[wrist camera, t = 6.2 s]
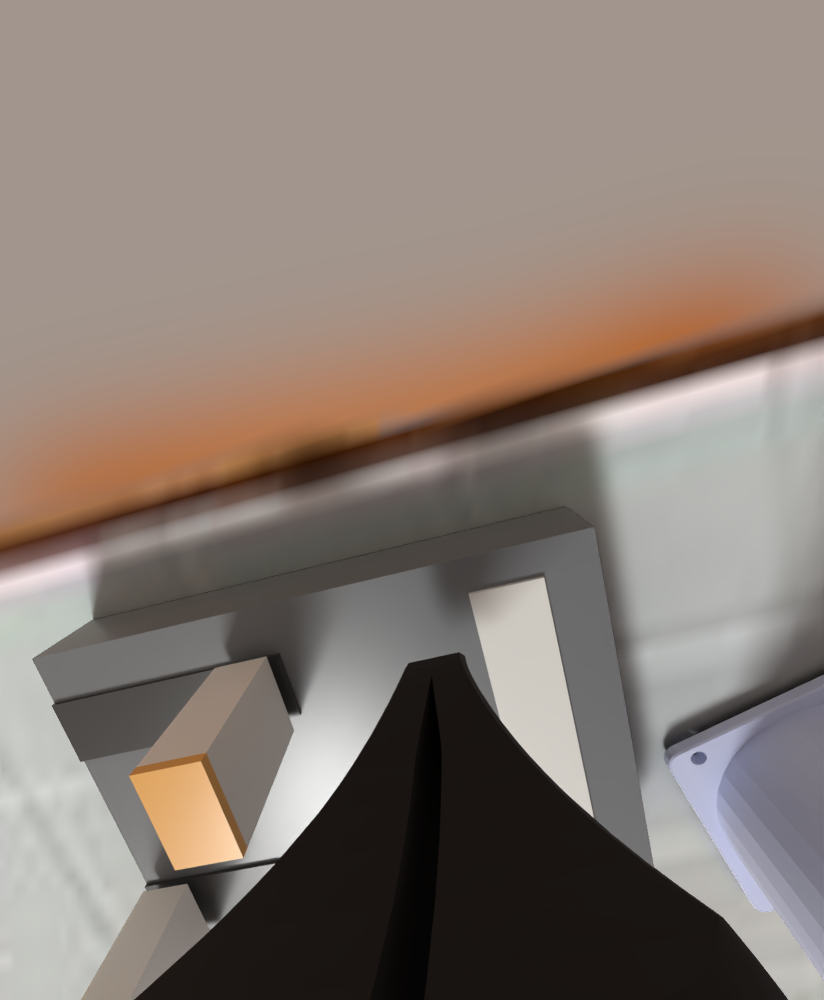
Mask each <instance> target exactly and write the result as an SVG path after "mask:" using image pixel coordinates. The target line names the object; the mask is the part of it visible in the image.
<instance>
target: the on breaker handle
mask: <svg viewBox="0 0 824 1000" xmlns="http://www.w3.org/2000/svg"><path fill="white" fill-rule="evenodd" d="M209 931H210V930H209V928H208V926H207V924H206V922H205V920H204V917H203V915H202V913H201V911H200V909H199V907H198V905H197V903H196V901H195V899H194V897H193V895H192V893H191V891H190V889H189V886H188V884H183V885H177V886H172V887H166V888H161V889H155V890H149V891H144V892H143V893H142V895H141V897H140V899H139V900H138V902H137V904H136V906H135V907H134V909H133V911H132V912H131V914H130V916H129V918H128V919H127V921H126V923H125V925H124V926H123V928H122V930H121V932H120V933H119V935H118V937H117V939H116V940H115V942H114V944H113V945H112V947H111V949H110V951H109V952H108V954H107V956H106V958H105V959H104V961H103V963H102V965H101V966H100V968H99V970H98V971H97V973H96V975H95V977H94V978H93V980H92V982H91V984H90V985H89V987H88V989H87V991H86V992H85V994H84V996H83V998H82V999H81V1000H134V999H135V998H136V997H137V996H139V995H140V994H141V993H142V992H143V991H144V990H145V989H147V988H148V987H149V986H150V985H151V984H152V983H153V982H154V981H155V980H156V979H158V978H159V977H160V976H161V975H162V974H163V973H164V972H165V971H166V970H167V969H169V968H170V967H171V966H172V965H173V964H174V963H175V962H176V961H177V960H178V959H180V958H181V957H182V956H183V955H184V954H185V953H186V952H187V951H188V950H189V949H191V948H192V947H193V946H194V945H195V944H196V943H197V942H198V941H199V940H200V939H202V938H203V937H204V936H205V935H206V934H207V933H208V932H209Z"/></svg>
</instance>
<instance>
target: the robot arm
mask: <svg viewBox="0 0 824 1000" xmlns="http://www.w3.org/2000/svg"><path fill="white" fill-rule="evenodd" d="M695 752H697V753H696V754H694V753H695ZM693 754H694V755H693ZM664 761H665V763H666V765H667V766H668V768H669V770H670V771H671V773H672V775H673V776H674V778H675V780H676V781H677V783H678V785H679V786H680V788H681V789H682V791H683V793H684V794H685V796H686V798H687V799H688V801H689V803H690V804H691V806H692V808H693V809H694V811H695V812H696V814H697V816H698V817H699V819H700V821H701V822H702V824H703V826H704V827H705V829H706V831H707V832H708V834H709V835H710V837H711V839H712V840H713V842H714V844H715V845H716V847H717V849H718V850H719V852H720V854H721V855H722V857H723V858H724V860H725V862H726V863H727V865H728V867H729V868H730V870H731V872H732V873H733V875H734V877H735V878H736V880H737V882H738V883H739V885H740V886H741V888H742V890H743V891H744V893H745V895H746V896H747V898H748V899H749V901H750V902H751V904H752V906H753V907H754V908H755V909H756V910H759V911H762V912H770V911H773V910H775V911H776V912H777V913H778V915H779V916H780V918H781V919H782V921H783V922H784V924H785V925H786V926H787V928H788V929H789V931H790V932H791V934H792V935H793V937H794V938H795V939H796V941H797V942H798V944H799V945H800V947H801V948H802V949H803V951H804V952H805V954H806V955H807V957H808V958H809V960H810V961H811V962H812V964H813V965H814V967H815V968H816V970H817V971H818V973H819V974H820V975H821V977H822V978H823V980H824V675H821V676H819V677H817V678H815V679H813V680H811V681H809V682H806V683H804V684H802V685H800V686H798V687H796V688H794V689H792V690H789V691H787V692H785V693H783V694H781V695H779V696H777V697H775V698H772V699H770V700H768V701H766V702H764V703H762V704H760V705H758V706H755V707H753V708H751V709H749V710H747V711H745V712H743V713H740V714H738V715H736V716H734V717H732V718H730V719H728V720H726V721H723V722H721V723H719V724H717V725H715V726H713V727H711V728H709V729H706V730H704V731H702V732H700V733H698V734H696V735H694V736H692V737H689V738H687V739H685V740H683V741H681V742H679V743H677V744H674V745H672V746H671V747H669V748H668V749H667V751H666V752H665V754H664ZM134 1000H788V999H787V998H786V996H785V995H784V993H783V992H782V991H781V989H780V988H779V987H778V985H777V984H776V983H775V982H774V980H773V979H772V978H771V976H770V975H769V974H768V972H767V971H766V970H765V969H764V967H763V966H762V965H761V963H760V962H759V961H758V960H757V958H756V957H755V956H754V955H753V953H752V952H751V951H750V950H749V949H748V947H747V946H746V945H745V944H744V942H743V941H742V940H741V939H740V937H739V936H738V935H737V934H736V933H735V931H734V930H733V929H732V928H731V927H730V925H729V924H728V923H727V922H726V921H725V919H724V918H723V917H721V916H720V915H719V914H717V913H716V912H715V911H713V910H712V909H710V908H709V907H707V906H706V905H705V904H703V903H702V902H700V901H699V900H698V899H696V898H695V897H693V896H692V895H691V894H689V893H688V892H686V891H685V890H684V889H682V888H681V887H679V886H678V885H677V884H675V883H674V882H673V881H671V880H670V879H669V878H667V877H666V876H665V875H663V874H662V873H661V872H659V871H658V870H657V869H655V868H654V867H653V866H651V865H650V864H649V863H647V862H646V861H645V860H644V859H642V858H641V857H640V856H639V855H637V854H636V853H635V852H634V851H632V850H631V849H630V848H629V847H627V846H626V845H625V844H624V843H622V842H621V841H620V840H619V839H617V838H616V837H615V836H614V835H612V834H611V833H610V832H609V831H608V830H607V829H606V828H605V827H603V826H602V825H601V824H600V823H599V822H598V821H597V820H596V819H594V818H593V817H592V816H591V815H590V814H589V813H588V812H587V811H585V810H584V809H583V808H582V807H581V806H580V805H579V804H578V803H576V802H575V801H574V800H573V799H572V798H571V797H570V796H569V795H567V794H566V793H565V792H564V791H563V790H562V789H561V788H560V787H559V786H558V785H557V784H556V783H555V782H554V781H553V780H552V779H551V778H550V777H549V776H548V775H547V774H546V773H545V772H544V771H543V770H542V768H541V767H540V766H539V765H538V764H537V763H536V762H535V761H534V760H533V759H532V758H531V757H530V756H529V754H528V753H527V752H526V751H525V750H524V749H523V748H522V746H521V745H520V744H519V743H518V742H517V740H516V739H515V738H514V737H513V735H512V734H511V733H510V732H509V730H508V729H507V728H506V727H505V725H504V724H503V723H502V721H501V720H500V719H499V717H498V716H497V715H496V713H495V712H494V710H493V709H492V707H491V706H490V705H489V703H488V702H487V700H486V699H485V697H484V696H483V694H482V692H481V691H480V689H479V688H478V686H477V684H476V682H475V680H474V678H473V677H472V675H471V673H470V670H469V668H468V665H467V661H466V658H465V655H463V654H461V653H460V652H457V653H453V654H448V655H444V656H439V657H434V658H430V659H425V660H420V661H416V662H411V663H408V665H407V666H406V668H405V670H404V672H403V674H402V676H401V678H400V680H399V683H398V685H397V687H396V689H395V691H394V693H393V695H392V697H391V699H390V701H389V703H388V705H387V707H386V708H385V710H384V712H383V714H382V716H381V718H380V719H379V721H378V723H377V725H376V727H375V729H374V730H373V732H372V734H371V736H370V737H369V739H368V741H367V742H366V744H365V745H364V747H363V749H362V750H361V752H360V754H359V755H358V757H357V758H356V760H355V762H354V763H353V765H352V767H351V768H350V770H349V771H348V773H347V774H346V776H345V777H344V778H343V780H342V781H341V783H340V784H339V786H338V787H337V789H336V790H335V791H334V793H333V794H332V795H331V797H330V798H329V800H328V801H327V802H326V804H325V805H324V806H323V808H322V809H321V810H320V811H319V813H318V814H317V815H316V816H315V818H314V819H313V820H312V821H311V822H310V824H309V825H308V826H307V827H306V828H305V829H304V831H303V832H302V833H301V834H300V835H299V837H298V838H297V839H296V840H295V841H294V842H293V844H292V845H291V846H290V847H289V848H288V849H287V851H286V852H285V853H284V854H283V855H282V857H281V858H280V859H279V860H278V861H277V862H276V863H275V865H274V866H273V867H272V868H271V869H270V870H269V871H268V872H267V873H266V874H265V875H264V876H263V877H262V878H261V880H260V881H259V882H258V883H257V884H256V885H255V886H254V887H253V888H252V889H251V890H250V891H249V892H248V893H247V894H246V895H245V896H244V897H243V898H242V899H241V900H240V901H239V902H238V903H237V904H236V905H235V906H234V907H233V908H232V909H231V910H230V911H229V912H228V913H227V914H226V915H225V916H224V917H223V918H222V919H221V920H220V921H219V922H218V923H217V924H216V925H215V926H214V927H213V928H212V929H211V930H210V931H209V932H208V933H207V934H206V935H205V936H204V937H203V938H202V939H200V940H199V941H198V942H197V943H196V944H195V945H194V946H193V947H192V948H191V949H189V950H188V951H187V952H186V953H185V954H184V955H183V956H182V957H181V958H180V959H178V960H177V961H176V962H175V963H174V964H173V965H172V966H171V967H170V968H169V969H167V970H166V971H165V972H164V973H163V974H162V975H161V976H160V977H159V978H158V979H156V980H155V981H154V982H153V983H152V984H151V985H150V986H149V987H148V988H147V989H145V990H144V991H143V992H142V993H141V994H140V995H139V996H137V997H136V998H135V999H134Z"/></svg>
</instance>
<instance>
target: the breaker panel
mask: <svg viewBox="0 0 824 1000" xmlns="http://www.w3.org/2000/svg"><path fill="white" fill-rule="evenodd" d="M457 652H460V653H461V654H463V655H465V658H466V661H467V665H468V668H469V670H470V673H471V675H472V677H473V678H474V680H475V682H476V684H477V686H478V688H479V689H480V691H481V692H482V694H483V696H484V697H485V699H486V700H487V702H488V703H489V705H490V706H491V707H492V709H493V710H494V712H495V713H496V715H497V716H498V717H499V719H500V720H501V721H502V723H503V724H504V725H505V727H506V728H507V729H508V730H509V732H510V733H511V734H512V735H513V737H514V738H515V739H516V740H517V742H518V743H519V744H520V745H521V746H522V748H523V749H524V750H525V751H526V752H527V753H528V754H529V756H530V757H531V758H532V759H533V760H534V761H535V762H536V763H537V764H538V765H539V766H540V767H541V768H542V770H543V771H544V772H545V773H546V774H547V775H548V776H549V777H550V778H551V779H552V780H553V781H554V782H555V783H556V784H557V785H558V786H559V787H560V788H561V789H562V790H563V791H564V792H565V793H566V794H567V795H569V796H570V797H571V798H572V799H573V800H574V801H575V802H576V803H578V804H579V805H580V806H581V807H582V808H583V809H584V810H585V811H587V812H588V813H589V814H590V815H591V816H592V817H593V818H594V819H596V820H597V821H598V822H599V823H600V824H601V825H602V826H603V827H605V828H606V829H607V830H608V831H609V832H610V833H611V834H612V835H614V836H615V837H616V838H617V839H619V840H620V841H621V842H622V843H624V844H625V845H626V846H627V847H629V848H630V849H631V850H632V851H634V852H635V853H636V854H637V855H639V856H640V857H641V858H642V859H644V860H645V861H646V862H647V863H649V864H650V865H651V866H653V867H654V865H653V859H652V854H651V848H650V842H649V836H648V831H647V825H646V819H645V814H644V808H643V802H642V796H641V791H640V785H639V779H638V774H637V768H636V762H635V756H634V751H633V745H632V739H631V733H630V728H629V722H628V716H627V711H626V705H625V699H624V693H623V688H622V682H621V676H620V671H619V665H618V659H617V653H616V648H615V642H614V636H613V631H612V625H611V619H610V613H609V608H608V602H607V596H606V590H605V585H604V579H603V573H602V568H601V562H600V556H599V550H598V545H597V539H596V533H595V528H594V526H592V525H591V524H590V523H588V522H587V521H585V520H584V519H583V518H581V517H580V516H579V515H577V514H576V513H574V512H573V511H572V510H570V509H569V508H567V507H566V506H565V507H561V508H557V509H553V510H549V511H544V512H540V513H536V514H532V515H528V516H524V517H519V518H515V519H511V520H507V521H503V522H499V523H495V524H490V525H486V526H482V527H478V528H474V529H470V530H465V531H461V532H457V533H453V534H449V535H445V536H440V537H436V538H432V539H428V540H424V541H420V542H415V543H411V544H407V545H403V546H399V547H395V548H391V549H386V550H382V551H378V552H374V553H370V554H366V555H361V556H357V557H353V558H349V559H345V560H341V561H336V562H332V563H328V564H324V565H320V566H316V567H311V568H307V569H303V570H299V571H295V572H291V573H286V574H282V575H278V576H274V577H270V578H266V579H262V580H257V581H253V582H249V583H245V584H241V585H237V586H232V587H228V588H224V589H220V590H216V591H212V592H207V593H203V594H199V595H195V596H191V597H187V598H182V599H178V600H174V601H170V602H166V603H162V604H157V605H153V606H149V607H145V608H141V609H137V610H133V611H128V612H124V613H120V614H116V615H112V616H108V617H103V618H99V619H95V620H91V621H90V622H88V623H87V624H85V625H84V626H82V627H81V628H79V629H78V630H76V631H74V632H73V633H71V634H70V635H68V636H67V637H65V638H64V639H62V640H61V641H59V642H58V643H56V644H54V645H53V646H51V647H50V648H48V649H47V650H45V651H44V652H42V653H41V654H39V655H38V656H36V657H34V658H33V659H32V660H33V662H34V664H35V666H36V668H37V670H38V671H39V673H40V675H41V677H42V679H43V681H44V683H45V685H46V687H47V689H48V691H49V693H50V695H51V697H52V699H53V701H54V703H55V704H53V705H52V707H53V709H54V711H55V713H56V715H57V717H58V719H59V721H60V723H61V725H62V727H63V728H64V730H65V732H66V734H67V736H68V738H69V740H70V742H71V744H72V746H73V748H74V750H75V752H76V754H77V756H78V758H79V760H80V762H82V761H84V762H85V763H86V765H87V767H88V769H89V771H90V773H91V775H92V777H93V779H94V781H95V783H96V785H97V787H98V789H99V791H100V793H101V795H102V797H103V799H104V801H105V803H106V805H107V807H108V809H109V810H110V812H111V814H112V816H113V818H114V820H115V822H116V824H117V826H118V828H119V830H120V832H121V834H122V836H123V838H124V840H125V842H126V844H127V846H128V848H129V850H130V852H131V854H132V856H133V857H134V859H135V861H136V863H137V865H138V867H139V869H140V871H141V873H142V875H143V877H144V879H145V881H146V883H147V884H146V886H145V888H146V890H147V891H149V890H155V889H161V888H166V887H172V886H177V885H183V884H188V886H189V889H190V891H191V893H192V895H193V897H194V899H195V901H196V903H197V905H198V907H199V909H200V911H201V913H202V915H203V917H204V920H205V922H206V924H207V926H208V928H209V930H211V929H212V928H213V927H214V926H215V925H216V924H217V923H218V922H219V921H220V920H221V919H222V918H223V917H224V916H225V915H226V914H227V913H228V912H229V911H230V910H231V909H232V908H233V907H234V906H235V905H236V904H237V903H238V902H239V901H240V900H241V899H242V898H243V897H244V896H245V895H246V894H247V893H248V892H249V891H250V890H251V889H252V888H253V887H254V886H255V885H256V884H257V883H258V882H259V881H260V880H261V878H262V877H263V876H264V875H265V874H266V873H267V872H268V871H269V870H270V869H271V868H272V867H273V866H274V865H275V863H276V862H277V861H278V860H279V859H280V858H281V857H282V855H283V854H284V853H285V852H286V851H287V849H288V848H289V847H290V846H291V845H292V844H293V842H294V841H295V840H296V839H297V838H298V837H299V835H300V834H301V833H302V832H303V831H304V829H305V828H306V827H307V826H308V825H309V824H310V822H311V821H312V820H313V819H314V818H315V816H316V815H317V814H318V813H319V811H320V810H321V809H322V808H323V806H324V805H325V804H326V802H327V801H328V800H329V798H330V797H331V795H332V794H333V793H334V791H335V790H336V789H337V787H338V786H339V784H340V783H341V781H342V780H343V778H344V777H345V776H346V774H347V773H348V771H349V770H350V768H351V767H352V765H353V763H354V762H355V760H356V758H357V757H358V755H359V754H360V752H361V750H362V749H363V747H364V745H365V744H366V742H367V741H368V739H369V737H370V736H371V734H372V732H373V730H374V729H375V727H376V725H377V723H378V721H379V719H380V718H381V716H382V714H383V712H384V710H385V708H386V707H387V705H388V703H389V701H390V699H391V697H392V695H393V693H394V691H395V689H396V687H397V685H398V683H399V680H400V678H401V676H402V674H403V672H404V670H405V668H406V666H407V665H408V663H411V662H416V661H420V660H425V659H430V658H434V657H439V656H444V655H448V654H453V653H457ZM262 657H267V659H268V662H269V665H270V667H271V670H272V673H273V675H274V678H275V681H276V683H277V686H278V689H279V691H280V694H281V697H282V699H283V702H284V705H285V707H286V710H287V712H288V715H289V718H290V720H291V723H292V726H293V728H294V732H293V735H292V737H291V740H290V742H289V745H288V747H287V750H286V752H285V755H284V757H283V760H282V763H281V765H280V768H279V770H278V773H277V775H276V778H275V780H274V783H273V785H272V788H271V790H270V793H269V795H268V798H267V800H266V803H265V805H264V808H263V810H262V813H261V815H260V818H259V820H258V823H257V825H256V828H255V830H254V833H253V835H252V838H251V840H250V843H249V845H248V848H247V850H246V853H245V855H244V858H241V859H235V860H230V861H224V862H219V863H213V864H208V865H202V866H197V867H191V868H186V869H180V870H175V869H174V867H173V865H172V863H171V861H170V859H169V857H168V855H167V853H166V851H165V849H164V847H163V845H162V843H161V840H160V838H159V836H158V834H157V832H156V830H155V828H154V826H153V824H152V822H151V820H150V818H149V816H148V814H147V812H146V810H145V808H144V806H143V804H142V802H141V799H140V797H139V795H138V793H137V791H136V789H135V787H134V785H133V783H132V781H131V779H130V777H129V775H130V774H131V773H132V772H133V770H134V769H135V768H136V767H137V765H138V764H139V763H140V761H141V760H142V759H143V758H144V756H145V755H146V754H147V753H148V751H149V750H150V749H151V748H152V746H153V745H154V744H155V743H156V741H157V740H158V739H159V738H160V736H161V735H162V734H163V733H164V731H165V730H166V729H167V727H168V726H169V725H170V724H171V722H172V721H173V720H174V719H175V717H176V716H177V715H178V714H179V712H180V711H181V710H182V709H183V707H184V706H185V705H186V704H187V702H188V701H189V700H190V699H191V697H192V696H193V695H194V693H195V692H196V691H197V690H198V688H199V687H200V686H201V685H202V683H203V682H204V681H205V680H206V678H207V677H208V676H209V675H210V673H211V672H212V671H213V670H214V668H217V667H221V666H226V665H230V664H235V663H239V662H244V661H248V660H253V659H257V658H262Z"/></svg>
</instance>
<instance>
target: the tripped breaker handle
mask: <svg viewBox="0 0 824 1000" xmlns="http://www.w3.org/2000/svg"><path fill="white" fill-rule="evenodd" d="M293 732H294V728H293V726H292V723H291V720H290V718H289V715H288V712H287V710H286V707H285V705H284V702H283V699H282V697H281V694H280V691H279V689H278V686H277V683H276V681H275V678H274V675H273V673H272V670H271V667H270V665H269V662H268V659H267V657H262V658H257V659H253V660H248V661H244V662H239V663H235V664H230V665H226V666H221V667H217V668H214V670H213V671H212V672H211V673H210V675H209V676H208V677H207V678H206V680H205V681H204V682H203V683H202V685H201V686H200V687H199V688H198V690H197V691H196V692H195V693H194V695H193V696H192V697H191V699H190V700H189V701H188V702H187V704H186V705H185V706H184V707H183V709H182V710H181V711H180V712H179V714H178V715H177V716H176V717H175V719H174V720H173V721H172V722H171V724H170V725H169V726H168V727H167V729H166V730H165V731H164V733H163V734H162V735H161V736H160V738H159V739H158V740H157V741H156V743H155V744H154V745H153V746H152V748H151V749H150V750H149V751H148V753H147V754H146V755H145V756H144V758H143V759H142V760H141V761H140V763H139V764H138V765H137V767H136V768H135V769H134V770H133V772H132V773H131V774H130V775H129V777H130V779H131V781H132V783H133V785H134V787H135V789H136V791H137V793H138V795H139V797H140V799H141V802H142V804H143V806H144V808H145V810H146V812H147V814H148V816H149V818H150V820H151V822H152V824H153V826H154V828H155V830H156V832H157V834H158V836H159V838H160V840H161V843H162V845H163V847H164V849H165V851H166V853H167V855H168V857H169V859H170V861H171V863H172V865H173V867H174V869H175V870H180V869H186V868H191V867H197V866H202V865H208V864H213V863H219V862H224V861H230V860H235V859H241V858H244V855H245V853H246V850H247V848H248V845H249V843H250V840H251V838H252V835H253V833H254V830H255V828H256V825H257V823H258V820H259V818H260V815H261V813H262V810H263V808H264V805H265V803H266V800H267V798H268V795H269V793H270V790H271V788H272V785H273V783H274V780H275V778H276V775H277V773H278V770H279V768H280V765H281V763H282V760H283V757H284V755H285V752H286V750H287V747H288V745H289V742H290V740H291V737H292V735H293Z"/></svg>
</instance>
